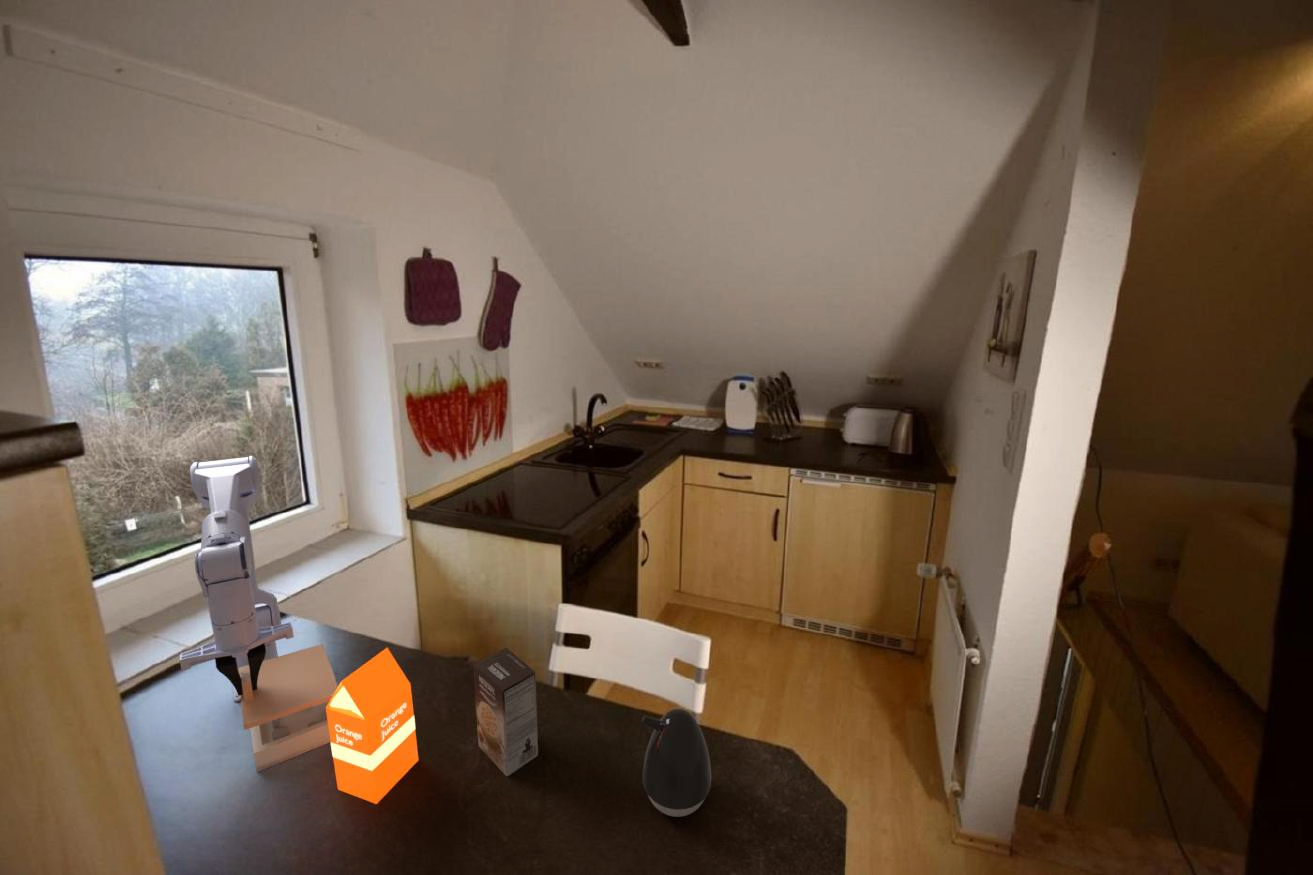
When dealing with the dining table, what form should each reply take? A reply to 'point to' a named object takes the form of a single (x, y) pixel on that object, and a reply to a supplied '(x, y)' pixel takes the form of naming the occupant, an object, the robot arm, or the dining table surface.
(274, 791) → the dining table surface
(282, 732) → the parts tray
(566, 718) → the dining table surface
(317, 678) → the lid
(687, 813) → the pump dispenser
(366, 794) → the orange juice
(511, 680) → the coffee box
